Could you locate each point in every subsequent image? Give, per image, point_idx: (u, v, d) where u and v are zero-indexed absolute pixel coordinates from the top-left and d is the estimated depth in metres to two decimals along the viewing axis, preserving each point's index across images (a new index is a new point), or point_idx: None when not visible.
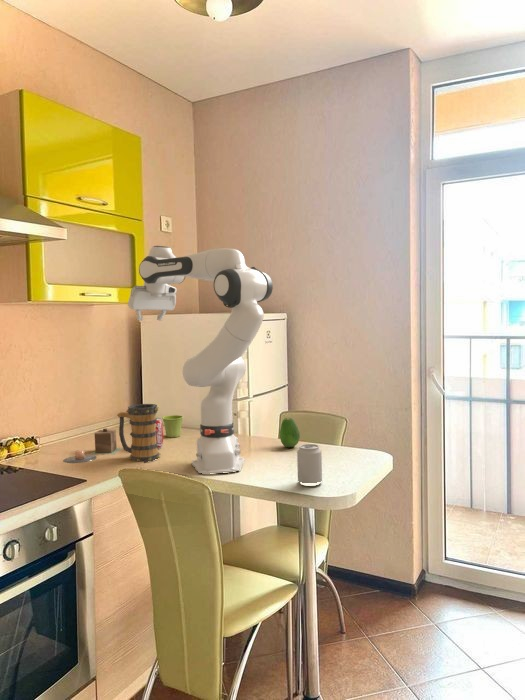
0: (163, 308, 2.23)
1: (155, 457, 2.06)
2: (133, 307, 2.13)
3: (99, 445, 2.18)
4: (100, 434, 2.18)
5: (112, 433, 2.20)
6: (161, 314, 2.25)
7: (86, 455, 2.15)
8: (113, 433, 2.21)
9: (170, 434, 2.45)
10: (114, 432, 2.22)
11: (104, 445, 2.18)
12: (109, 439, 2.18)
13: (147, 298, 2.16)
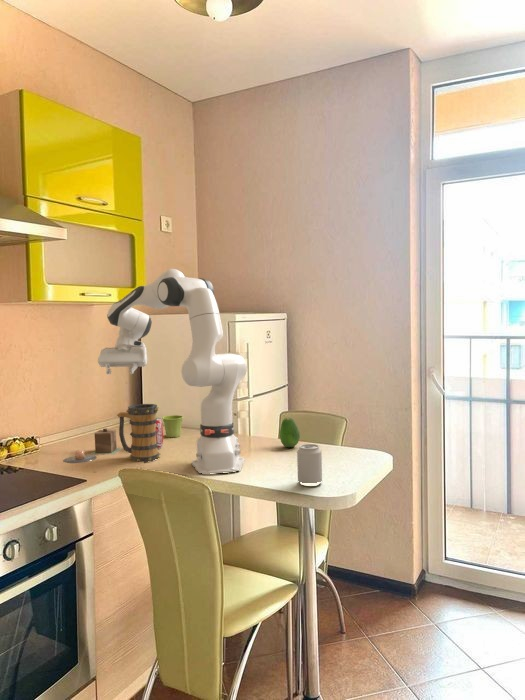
0: (131, 360, 2.30)
1: (155, 457, 2.06)
2: (98, 360, 2.31)
3: (99, 445, 2.18)
4: (100, 434, 2.18)
5: (112, 433, 2.20)
6: None
7: (86, 455, 2.15)
8: (113, 433, 2.21)
9: (170, 434, 2.45)
10: (114, 432, 2.22)
11: (104, 445, 2.18)
12: (109, 439, 2.18)
13: (114, 353, 2.33)
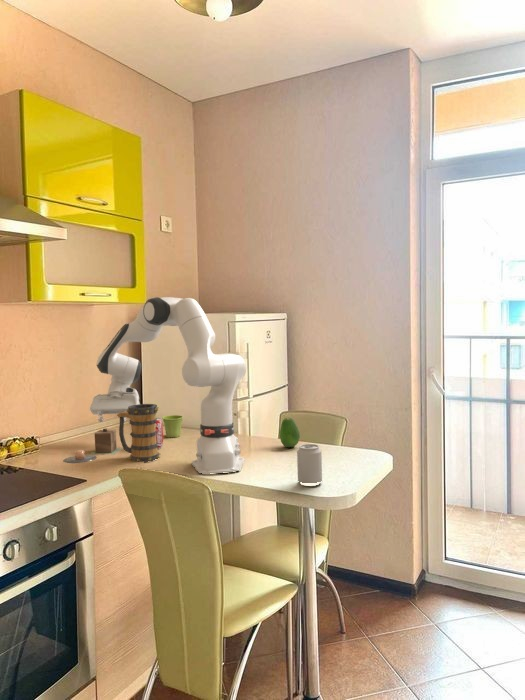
0: (123, 407, 2.30)
1: (155, 457, 2.06)
2: (91, 408, 2.31)
3: (99, 445, 2.18)
4: (100, 434, 2.18)
5: (112, 433, 2.20)
6: None
7: (86, 455, 2.15)
8: (113, 433, 2.21)
9: (170, 434, 2.45)
10: (114, 432, 2.22)
11: (104, 445, 2.18)
12: (109, 439, 2.18)
13: (106, 400, 2.34)
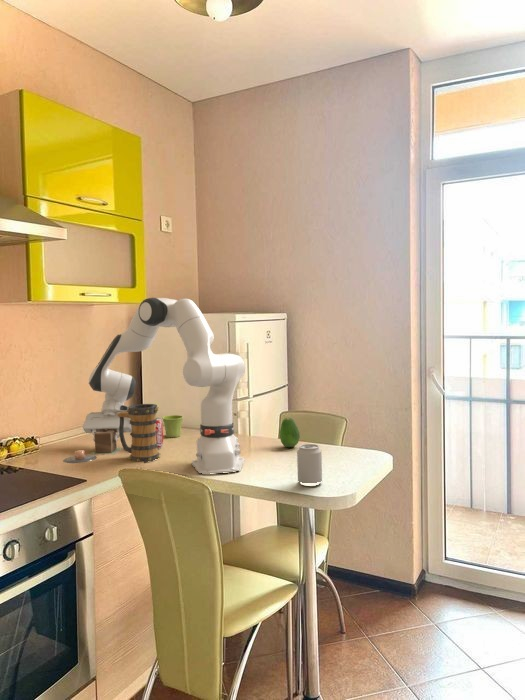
0: (117, 426, 2.22)
1: (155, 457, 2.06)
2: (83, 426, 2.23)
3: (99, 445, 2.18)
4: (100, 434, 2.18)
5: (112, 433, 2.20)
6: None
7: (86, 455, 2.15)
8: (113, 433, 2.21)
9: (170, 434, 2.45)
10: (114, 432, 2.22)
11: (104, 445, 2.18)
12: (109, 439, 2.18)
13: (100, 419, 2.26)
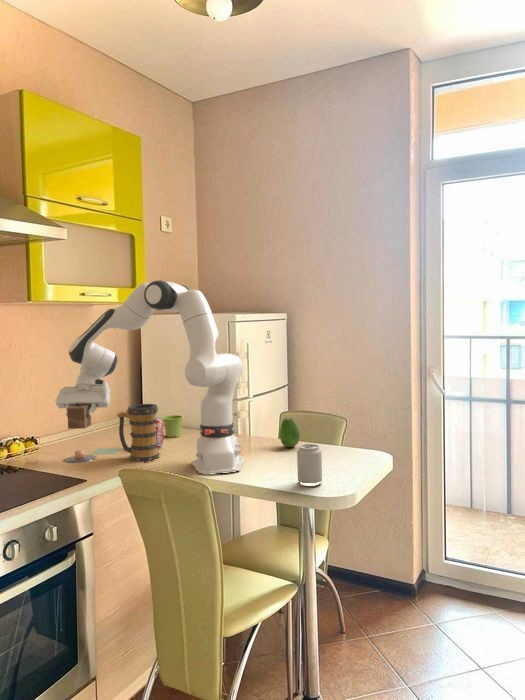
0: (91, 400, 2.11)
1: (155, 457, 2.06)
2: (56, 401, 2.12)
3: (72, 420, 2.07)
4: (73, 408, 2.06)
5: (86, 408, 2.08)
6: None
7: (86, 455, 2.15)
8: (87, 408, 2.10)
9: (170, 434, 2.45)
10: (88, 407, 2.11)
11: (78, 420, 2.07)
12: (82, 414, 2.06)
13: (73, 393, 2.14)
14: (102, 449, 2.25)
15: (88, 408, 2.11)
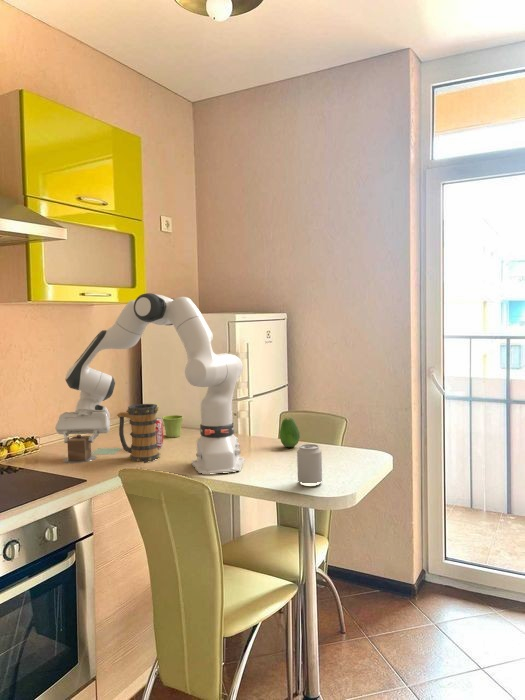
0: (91, 427, 2.11)
1: (155, 457, 2.06)
2: (56, 427, 2.12)
3: (72, 453, 2.07)
4: (73, 441, 2.06)
5: (86, 440, 2.08)
6: None
7: None
8: (87, 440, 2.10)
9: (170, 434, 2.45)
10: (88, 439, 2.11)
11: (78, 453, 2.07)
12: (83, 446, 2.06)
13: (73, 419, 2.14)
14: (102, 449, 2.25)
15: None
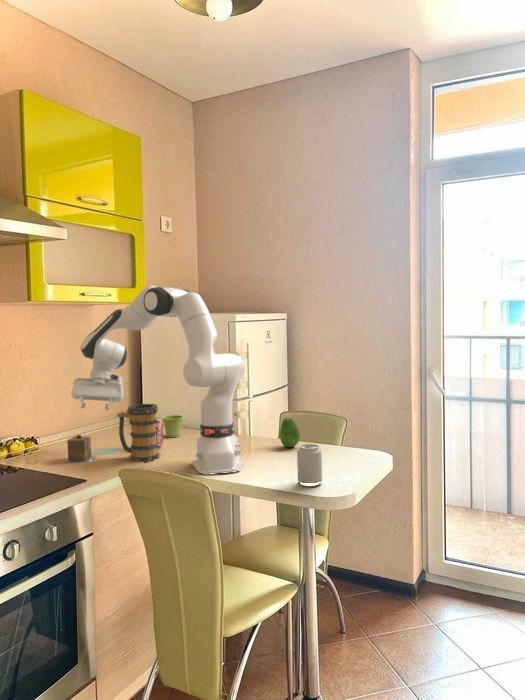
0: (108, 395, 2.25)
1: (155, 457, 2.06)
2: (72, 392, 2.23)
3: (72, 453, 2.07)
4: (73, 441, 2.06)
5: (86, 440, 2.08)
6: None
7: None
8: (87, 440, 2.10)
9: (170, 434, 2.45)
10: (88, 439, 2.11)
11: (78, 453, 2.07)
12: (83, 446, 2.06)
13: (89, 386, 2.26)
14: (102, 449, 2.25)
15: (88, 440, 2.11)
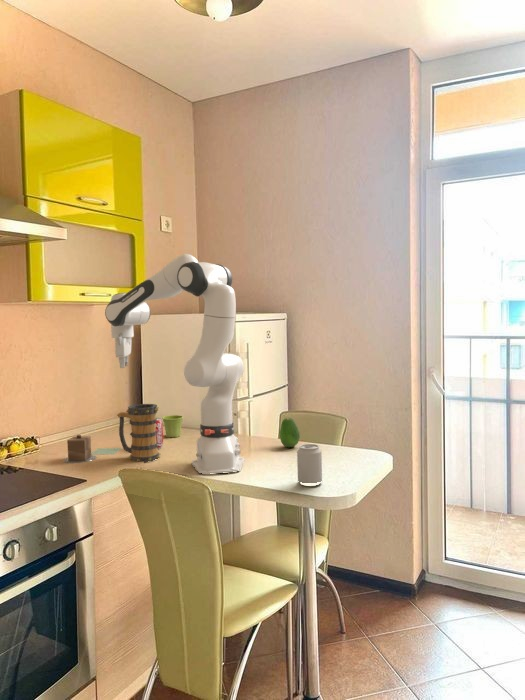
0: (129, 353, 2.31)
1: (155, 457, 2.06)
2: (124, 354, 2.18)
3: (72, 453, 2.07)
4: (73, 441, 2.06)
5: (86, 440, 2.08)
6: (125, 360, 2.32)
7: None
8: (87, 440, 2.10)
9: (170, 434, 2.45)
10: (88, 439, 2.11)
11: (78, 453, 2.07)
12: (83, 446, 2.06)
13: (125, 344, 2.23)
14: (102, 449, 2.25)
15: (88, 440, 2.11)
